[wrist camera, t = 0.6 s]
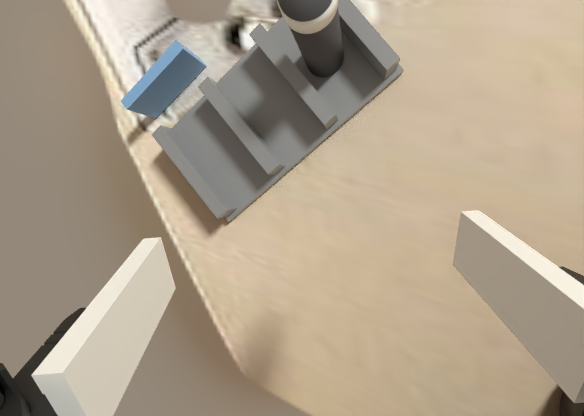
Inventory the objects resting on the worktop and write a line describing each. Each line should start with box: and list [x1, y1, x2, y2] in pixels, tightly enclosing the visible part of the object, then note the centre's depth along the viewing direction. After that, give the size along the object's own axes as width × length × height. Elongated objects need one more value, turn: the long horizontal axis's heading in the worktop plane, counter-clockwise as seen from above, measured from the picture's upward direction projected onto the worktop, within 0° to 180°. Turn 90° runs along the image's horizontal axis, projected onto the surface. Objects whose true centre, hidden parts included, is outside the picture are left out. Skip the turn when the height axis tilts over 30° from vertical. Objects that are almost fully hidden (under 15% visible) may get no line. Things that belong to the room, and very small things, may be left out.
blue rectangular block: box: [121, 40, 206, 118], centre depth 35 cm, size 1×9×5 cm, turn 129°
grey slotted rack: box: [152, 0, 403, 222], centre depth 33 cm, size 13×25×4 cm, turn 129°
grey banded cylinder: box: [277, 0, 344, 77], centre depth 27 cm, size 4×4×12 cm
